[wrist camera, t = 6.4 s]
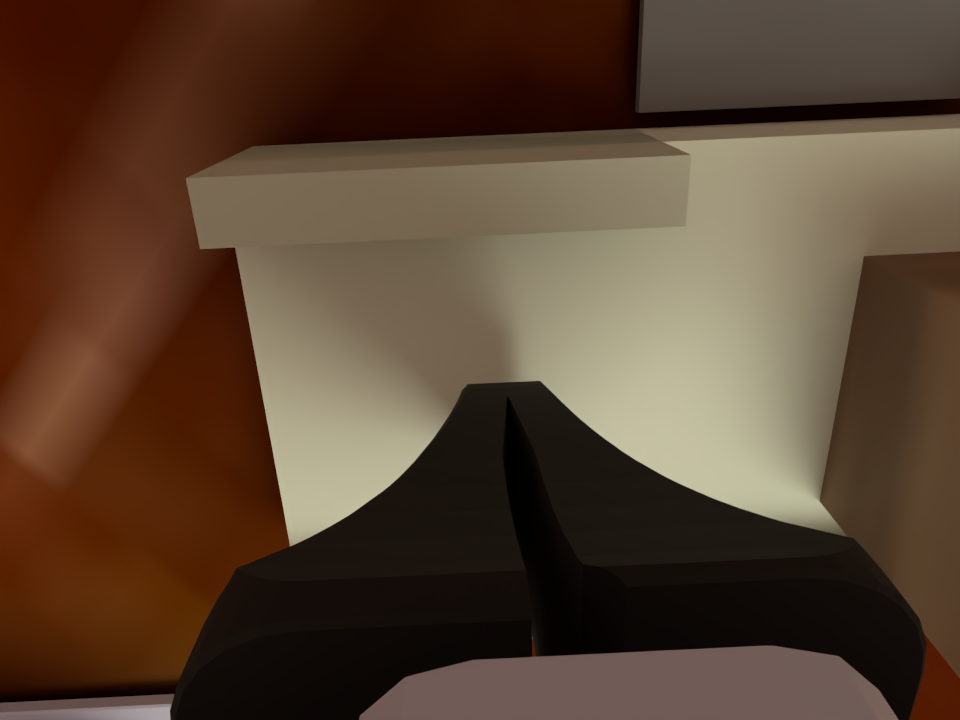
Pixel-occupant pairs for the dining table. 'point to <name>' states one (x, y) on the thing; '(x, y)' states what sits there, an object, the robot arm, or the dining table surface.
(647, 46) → the mats
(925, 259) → the walnut block
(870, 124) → the trap lane
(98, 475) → the dining table surface
